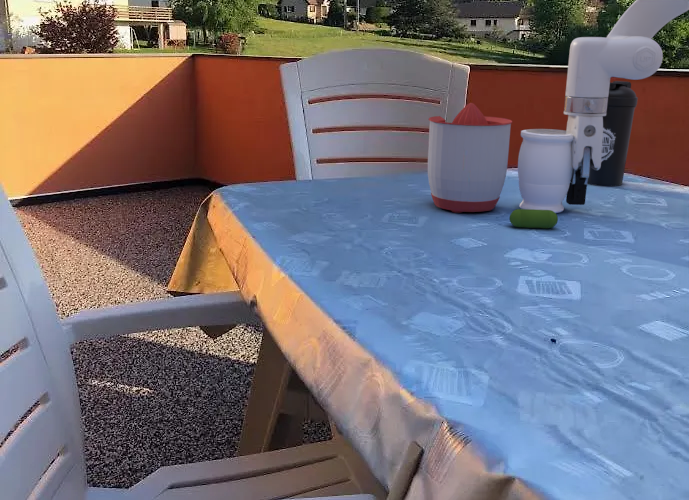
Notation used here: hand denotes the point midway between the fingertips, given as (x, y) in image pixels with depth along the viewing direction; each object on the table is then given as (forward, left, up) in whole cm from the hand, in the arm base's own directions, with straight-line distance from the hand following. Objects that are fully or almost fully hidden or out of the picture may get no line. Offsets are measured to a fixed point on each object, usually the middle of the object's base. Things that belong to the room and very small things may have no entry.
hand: (575, 203), depth 136 cm
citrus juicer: (+21, -1, -2) cm, 21 cm away
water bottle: (-14, -31, -2) cm, 34 cm away
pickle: (+10, +14, -2) cm, 17 cm away
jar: (+6, -1, -2) cm, 6 cm away
